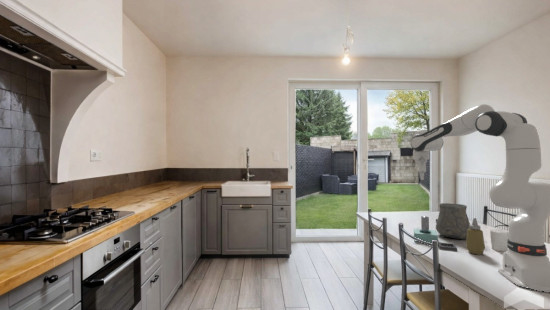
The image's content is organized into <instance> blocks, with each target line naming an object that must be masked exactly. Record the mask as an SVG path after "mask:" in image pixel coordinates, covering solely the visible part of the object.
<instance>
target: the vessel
mask: <svg viewBox="0 0 550 310" xmlns="http://www.w3.org/2000/svg"><path fill="white" fill-rule="evenodd" d="M438 207H439V212H438V216H437V218H436V219H435V223H436V224H435V231H436V232H437V234H440V235H441V236H443V237H447V238H451V239H455V240H456V239H458V240H461V239H462V240H463V239H467V229H469V228H470V224H471V223H470V221H469V217H468V213H467V208H468V206H467V205H466V204H462V203H461V204H460V203H448V202H447V203H444V202H443V203H439V204H438Z"/></svg>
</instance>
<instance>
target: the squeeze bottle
mask: <svg viewBox="0 0 550 310" xmlns="http://www.w3.org/2000/svg"><path fill="white" fill-rule="evenodd" d="M465 239H466V240H465V246H466V249H467V253H469V254H473V255H478V256H481V255H483V253H484V250H485V249H486V245H485V239H484V232H483V230H482V229H481V225H479V224H478V221H477V218H476V217H473V219H472V222H471V223H470V228H469V229H467V238H465Z"/></svg>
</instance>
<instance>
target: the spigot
mask: <svg viewBox="0 0 550 310" xmlns="http://www.w3.org/2000/svg"><path fill="white" fill-rule="evenodd" d="M420 217H421V219H420V221H421V222H420V225H421V226H420V227H421V233H429V230H430V219H429V216H425V215H424V216H423V215H422V216H420Z"/></svg>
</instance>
